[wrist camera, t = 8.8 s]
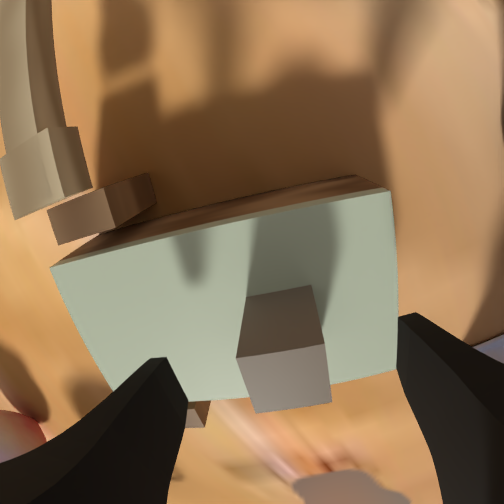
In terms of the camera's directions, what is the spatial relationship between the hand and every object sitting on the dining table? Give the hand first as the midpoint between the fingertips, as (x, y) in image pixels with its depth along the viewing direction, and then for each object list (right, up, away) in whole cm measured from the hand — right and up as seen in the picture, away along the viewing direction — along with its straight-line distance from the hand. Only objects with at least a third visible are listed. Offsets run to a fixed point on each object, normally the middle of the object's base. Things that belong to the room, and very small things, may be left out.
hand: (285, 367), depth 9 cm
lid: (-2, +1, +4) cm, 5 cm away
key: (-9, +10, 0) cm, 14 cm away
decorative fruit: (-26, -15, +16) cm, 34 cm away
